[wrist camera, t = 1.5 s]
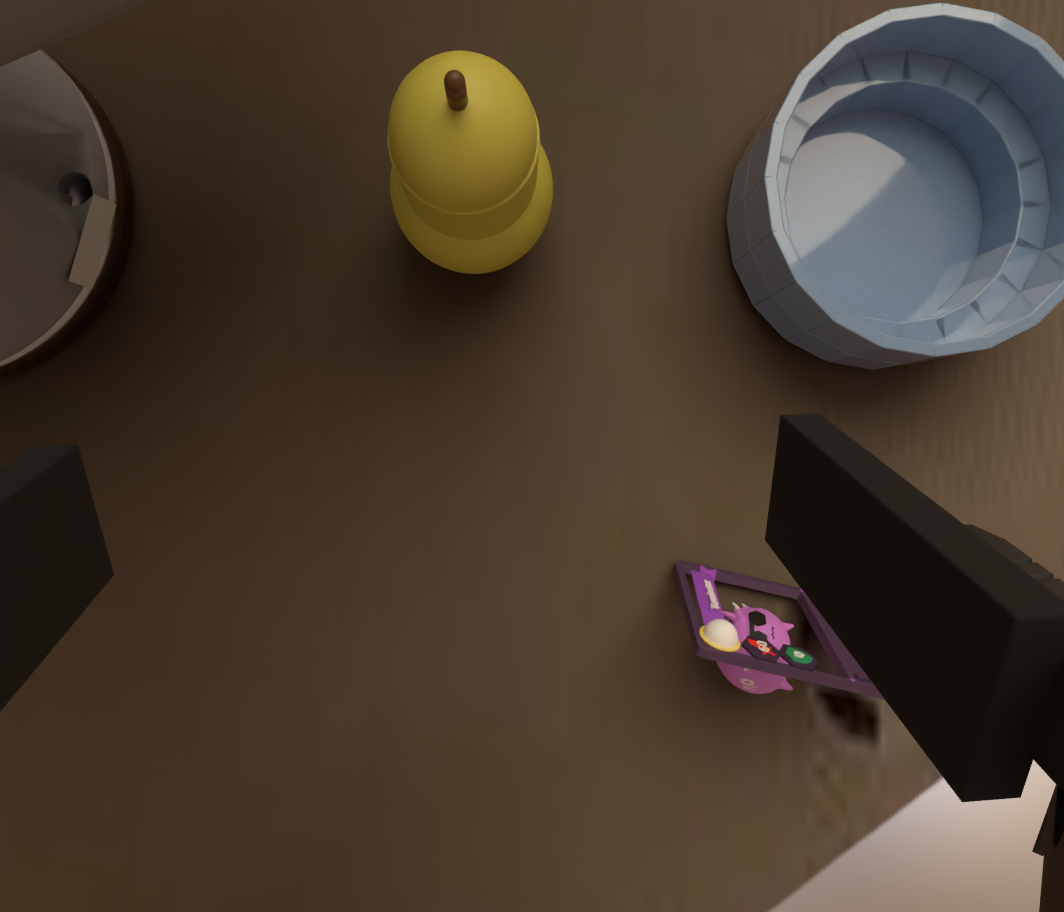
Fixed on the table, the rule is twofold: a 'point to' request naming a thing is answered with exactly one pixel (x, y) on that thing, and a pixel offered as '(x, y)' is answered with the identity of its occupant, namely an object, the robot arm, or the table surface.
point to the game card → (762, 637)
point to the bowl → (907, 191)
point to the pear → (467, 163)
